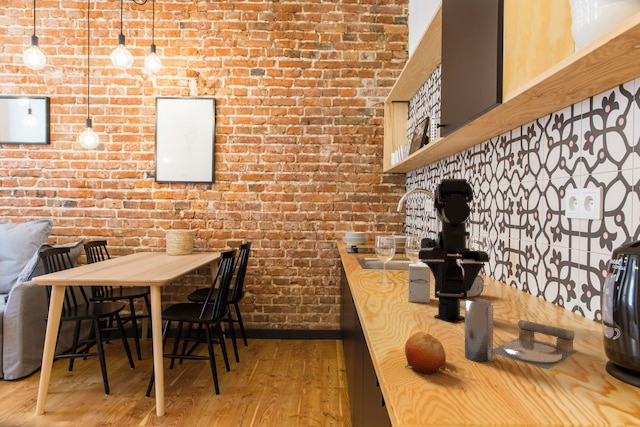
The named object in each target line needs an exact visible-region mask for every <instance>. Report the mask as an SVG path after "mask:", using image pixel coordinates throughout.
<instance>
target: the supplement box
mask: <svg viewBox="0 0 640 427" xmlns="http://www.w3.org/2000/svg"><path fill="white" fill-rule="evenodd" d="M407 287H408V289H407V291H408V297H407V298H408V300H407V302H415V303H425V304H426V303H427V304H430V299H431V269H430V268H429V267H428V266H427V265H426V264H425V263H409V264H408V286H407Z"/></svg>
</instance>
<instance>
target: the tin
mask: <svg viewBox="0 0 640 427" xmlns="http://www.w3.org/2000/svg"><path fill="white" fill-rule="evenodd" d="M463 278H464V273H463ZM484 284H485V283H484V279H483V277H482V276H481V275H479V274H478V275H477V277H476V279H475V281H474V283H473V285H472V287H471V289H470V291H467V299H468V298H478V297H479V296H480V295H481V294H482V292H483V291H484ZM461 294H462V293H461Z"/></svg>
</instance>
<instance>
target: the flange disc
mask: <svg viewBox="0 0 640 427" xmlns="http://www.w3.org/2000/svg"><path fill="white" fill-rule="evenodd" d="M512 341H513V340H512ZM502 345H503V351H504V353H506V354H507V355H509V356H510V357H513V358H515V359H518V360H522V361H526V362H531V363H539V364H554V363H557V364H559V363H561V362H562V361H563V360H562V353H561V352H560V351H558V350H557V349H555V348H552V347H550V346H546V345H543V344H539V343H533V342H524V341H513V342H510V341H507V342H505V343H504V344H502ZM518 360H517V361H518ZM561 360H562V361H561ZM560 361H561V362H560ZM558 362H559V363H558Z"/></svg>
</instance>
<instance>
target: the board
mask: <svg viewBox="0 0 640 427" xmlns="http://www.w3.org/2000/svg"><path fill="white" fill-rule="evenodd" d="M513 341H521V340H519V337H518V338H515V339H513V340H511V341H509V342H513ZM524 342H525V341H524ZM532 342H533V343H539V344H543V345H546V346H550V347H552V348H555V349H556V344H554V343H550V342H546V341H543V340H542V341H541V340H538V339H534V341H532ZM503 345H504V344H501V345H499V346H497V347H495V348H494V347H493V355H494V354H495V355H499V356H502V357H505V358H509V359H512V360H515V361H518V362H520V363H524V364H525V363H526V364H527V365H528V364H529V365H532V366H535V367H539V368H542V369H545V370H549V369H551V368H553V367H554V366H556V365H558V364H559V363H561V362H563V361H564V360H566V359H567V358H569V357H570V356H572V355H574V354H575V353H577V352H579V350H577V349H574V348H573V351H571V352H569V353H568V352H564V351H560V350H558V351H560V352H561V353H562V360H561V361H560V362H558V363H554V364H539V363H531V362H526V361H522V360H518V359H515V358H513V357H510V356H509V355H507V354H506V353H504V351H503Z"/></svg>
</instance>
